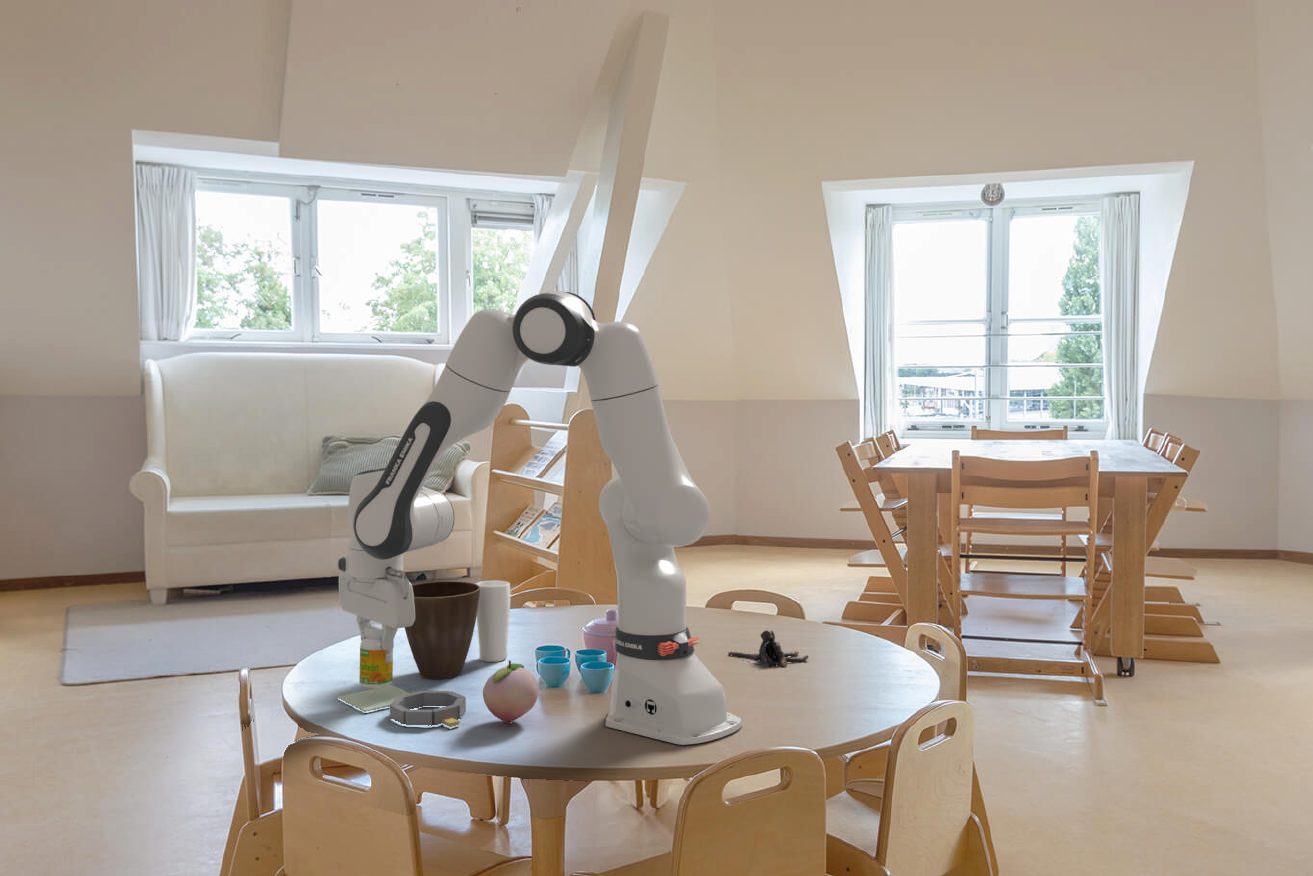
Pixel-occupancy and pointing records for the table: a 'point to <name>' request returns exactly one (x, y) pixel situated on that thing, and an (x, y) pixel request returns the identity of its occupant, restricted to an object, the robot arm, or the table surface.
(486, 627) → the drinking glass
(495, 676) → the decorative fruit
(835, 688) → the table surface
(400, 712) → the collar
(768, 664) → the stuffed animal
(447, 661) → the plant pot
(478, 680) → the table surface
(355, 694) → the mat
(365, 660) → the supplement bottle
